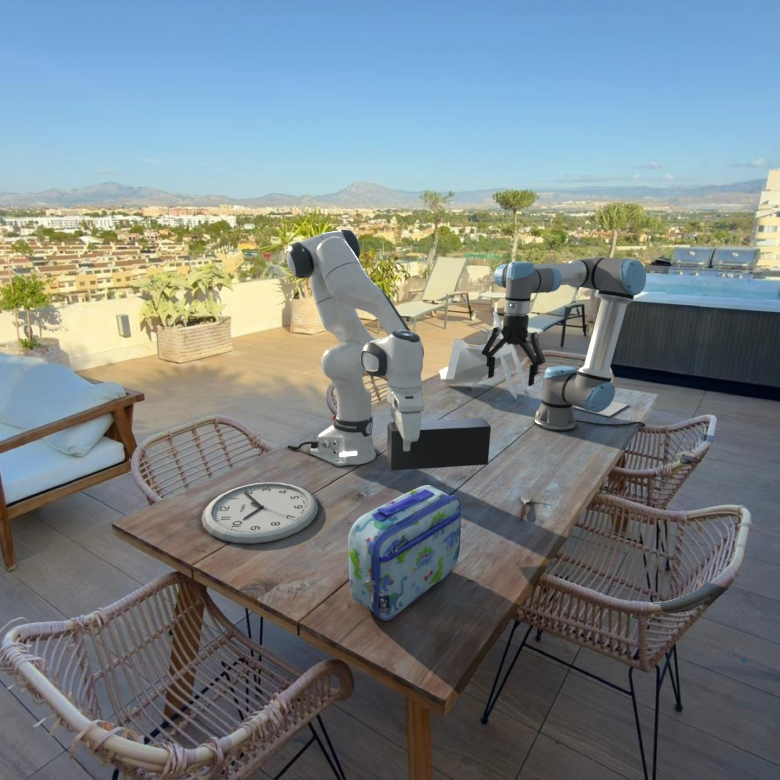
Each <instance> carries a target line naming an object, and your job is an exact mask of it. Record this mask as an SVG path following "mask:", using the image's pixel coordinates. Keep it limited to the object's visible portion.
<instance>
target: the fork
mask: <svg viewBox="0 0 780 780" xmlns="http://www.w3.org/2000/svg"><path fill="white" fill-rule="evenodd" d="M532 491H533V489H530V490H528V491H527V488H526V489H523V491H522V494H521V497H520V500H521V502H522V503H523V505H522V507H521V508H520V521H522V520H523V518H524V515H525V513H526V508H527V507H526V505H527V503H530V502H531V500H532Z"/></svg>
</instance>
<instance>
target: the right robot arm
mask: <svg viewBox="0 0 780 780" xmlns="http://www.w3.org/2000/svg"><path fill="white" fill-rule="evenodd" d="M493 276H494V277H493V279H494V282H495V284H496V286H498V287H499V288H500V287H501V288H504V289H505V297H504V308H503V312H504V314H503V320H502V327H503V329H501V328H499V327H497V326H495V327H492V332H491V335H490V337H489V339H488V341H487V342H486V343H485V344H486V345H485V347H484V349H483V351H482V355H485V356H487V367H489V370H488V374H487V379H493V377H495V369H494V368H495V357H492V356H494V354H495V353H496V352H497V351H498V350H499V349H500V348H503V345H504V344H505V343H507V344H508V345H510V344H512V345H513V346H519V347H520V348H522V350H523V351H524V354H526V356H527V358H528V359H529V361H530V363H531V364H530V365H529V370H528V371H529V372H528V381H527V387H532V386H533V385H534V384H535V376H538V374H539V367H540V366H541V365H543V364H545V363H546V358H545V355H544V353H543V350H542V347H541V345H540V342H539V335H538V334H539V333H538V331H533V332H530V331H529V330H528V329H529V320H530V316H529V314H530V311H531V299H532V294H542V293H543V294H544V293H545V294H548V293H553V292H556V291H558V290H559V289H560V287H561V286H570V287H571V288H584V289H589V290H594V291H598V292H597V296H598V297H599V299H600V303H599V308H598V311H597V315H596V319H595V323H594V326H593V330H592V334H591V338H590V342H589V345H588V349H587V353H586V356H585V360H584V363H583V366H582V367H580V368H579V369H578V368H577V367H575V366H569V365H568V366H567V365H557V366H550V367H547V368H546V369H545V371H544V375H543V378H542V379H543V381H542V392H541V402H540V405H539V407H538V409H537V410H536V411H535V416H534V424H535V425H536V426H537V427H539V428H542V429H544V430H549V431H556V432H567V431H572V430H574V429H575V428H576V423H580V424H588V425H594V426H605V427H620V426H632V425H638V424H639V425H642V426H643V427H647V425H646V424H645V423H644V422H642V421H633V422H627V423H601V422H592V421H587V420H585V421H584V420H578V419H576V418H575V417H576V416H575V413H574V407H576V406H577V407H580V408H583V409H585V410H587V411H586V412H588V411H592V412H601V411H603V410H605V409H606V408H607V407H608V406H609V405H610V404H611V402H612V401H614V398H615V395H616V387H615V385H614V384H613V383H612V379H613V376H612V374H611V373H610V368H611V365H612V361H613V358H614V353H615V350H616V346H617V343H618V338H619V335H620V333H621V328H622V324H623V321H624V317H625V313H626V310H627V306H628V305H629V304H631V303H632V302H633V301H634V299H635V296H637V295H640V294H641V293H642V291H643V290H644V289H645V286H646V283H647V271H646V269H645V266H644V264H643V263H642V262H641V261H640V260H637V259H633V258H627V257H625V258H623V257H622V258H621V257H604V256H598V257H597V256H596V257H590V258H583V259H573V260H571V261H569V262H559V263H558V262H557V263H533V262H531V261H511V262H510V263H506V264H500V265H499V266H498V267H496V268H495V270H494V275H493ZM500 333H502V335H503V338H502V339H501V338H500V340H499V341H498V343H496V345H494V343H495V342H496V340H497V338H498V336H500V335H499V334H500ZM527 338H529V340H530V343H531V345H532V348H533V349H532V348H531V346H530V345H529V342H528V340H527ZM493 345H494V346H493ZM492 347H493V348H492ZM491 348H492V350H491V351H490V352H489V350H490V349H491ZM573 406H574V407H573ZM592 412H591V413H592Z"/></svg>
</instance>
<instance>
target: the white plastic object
mask: <svg viewBox="0 0 780 780" xmlns="http://www.w3.org/2000/svg"><path fill="white" fill-rule="evenodd" d="M492 315H493V319H494V321H495V324H496V325H495V326H496V327H499V328H501V329H503V323H502V321H501V318H500V315H499V314H498V312H497V311H496V310H495V311H492ZM498 336H499V338H500V340H501V339H502V338H503V335H502V333H500V334H499V335H498ZM486 344H487V343H483V344H479V345H473V346H469V345H468V343H466V342H465V340H464V339H463V338H460V339H458V338H454V340H453V344H452V349H451V353H450V357H449V362H448V366H446V367H444V368H442V369H440V370H439V371H438V372H439V376H440V381H442V383H443V384H444V385H445V386H449V385H458V384H467V383H468V384H469V383H473V384H477V383H480V382H482V381H484V378H485V377H486V376H488V370H489V367H487V356H485V355H482V351H483V349H484V347H485V345H486ZM492 349H493V348H492V347H491V349H490V350H489V352H490V351H491V350H492ZM492 357H495V368H494V370H496V369H497V368H499V367H500V366H502V370H503V373H504V376H505V380H506V383H507V386H508V390H509V393H510V394H511V395H512V397H513V398H514V399H515V400H517V392H516V391H517V390H516V388H515V385H514V381H513V378H512V375H511V371H510V369H509V365H508V361H510V360H513V363H514V366H515V369H516V372H517V376H518V380H519V382H520V385H521V389H522V391H523V393H524V395H525V396H526V397H528V396H531V395H530V390H529V388H528V387H529V386H528V383H527V381H526V378H525V375H524V371H523V369H522V368H523V367H522V366H521V362H520V359H519V355H518V352H517V349H516V347H515V345H514V344H508V343H505V344H504V345H503V346H502V347H501V348H500V349H499V350H498V351H497V352H496V353H495V354H494V356H492Z"/></svg>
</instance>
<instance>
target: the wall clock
mask: <svg viewBox="0 0 780 780" xmlns="http://www.w3.org/2000/svg"><path fill="white" fill-rule="evenodd" d="M318 511H319V505H318V501H317V499H316V498H315V496H314V495H313V494H312V493H310V492H309V491H307V490H306V489H304V488H302V487H299V486H297V485H294V484H290V483H285V482H271V481H269V482H256V483H250V484H246V485H242V486H239V487H235V488H233V489H229V490H227V491H226V492H224V493H221V494H219V495H218V496H217V497H216V498H214V499H213V500H211V502H209V503H208V504H207V506H206V507H205V508H204V510H203V511H202V515H201V523H202V527H203V528H204V530H205V531H207V532H208V533H209V535H211V536H213V537H214V538H217V539H219V540H221V541H225V542H230V543H233V544H234V543H235V544H260V543H261V544H262V543H270V542H273V541H277V540H282V539H285V538H287V537H289V536H292V535H294V534H297V533H299V532H300V531H302V530H303V529H304V528H306V527H308V526H309V525H310V524H311V523H312V522H313V521H314V519H315V518H316V516H317V514H318Z"/></svg>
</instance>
